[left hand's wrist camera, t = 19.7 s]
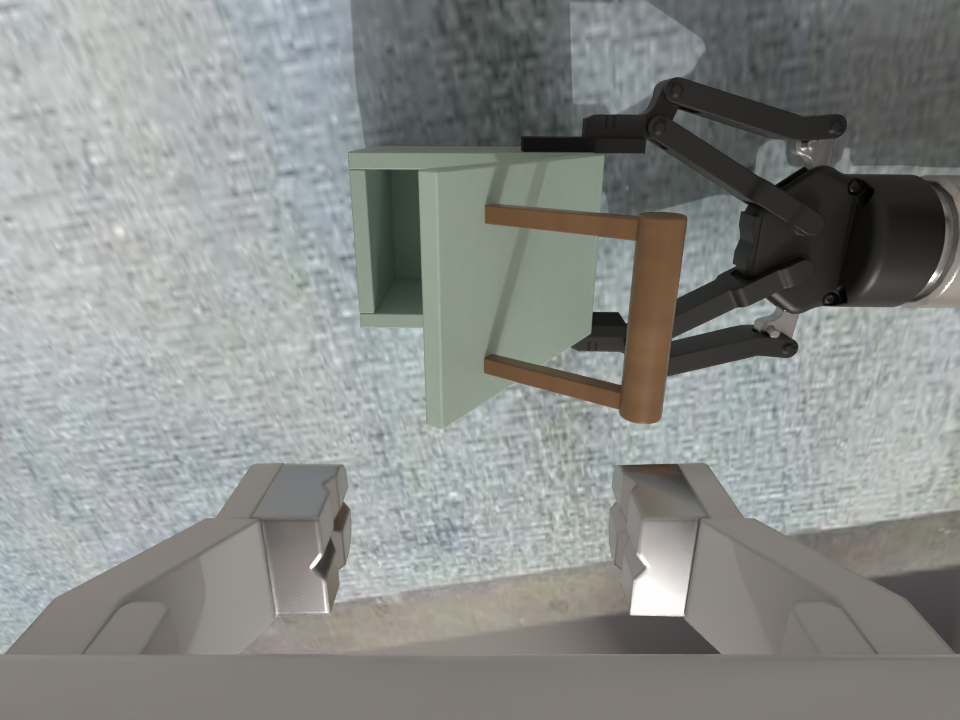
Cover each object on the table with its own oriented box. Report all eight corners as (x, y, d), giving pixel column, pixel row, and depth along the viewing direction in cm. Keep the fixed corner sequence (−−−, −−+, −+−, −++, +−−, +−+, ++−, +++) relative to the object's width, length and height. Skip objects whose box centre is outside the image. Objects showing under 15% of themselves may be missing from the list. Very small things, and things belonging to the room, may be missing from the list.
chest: (386, 287, 44) (360, 327, 35) (378, 145, 40) (347, 152, 31) (565, 289, 43) (583, 329, 35) (574, 146, 40) (596, 152, 31)
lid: (425, 425, 24) (623, 492, 20) (417, 169, 20) (657, 182, 16) (578, 331, 35) (727, 361, 30) (590, 153, 31) (761, 159, 27)
